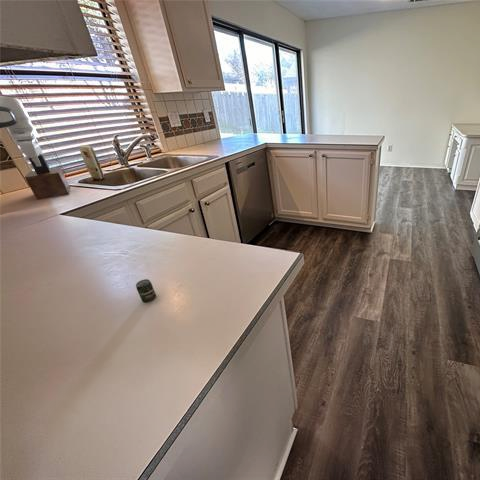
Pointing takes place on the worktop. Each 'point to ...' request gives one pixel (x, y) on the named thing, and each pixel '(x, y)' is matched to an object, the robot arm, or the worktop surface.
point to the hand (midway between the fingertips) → (40, 164)
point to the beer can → (145, 290)
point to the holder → (40, 169)
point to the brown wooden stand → (48, 183)
